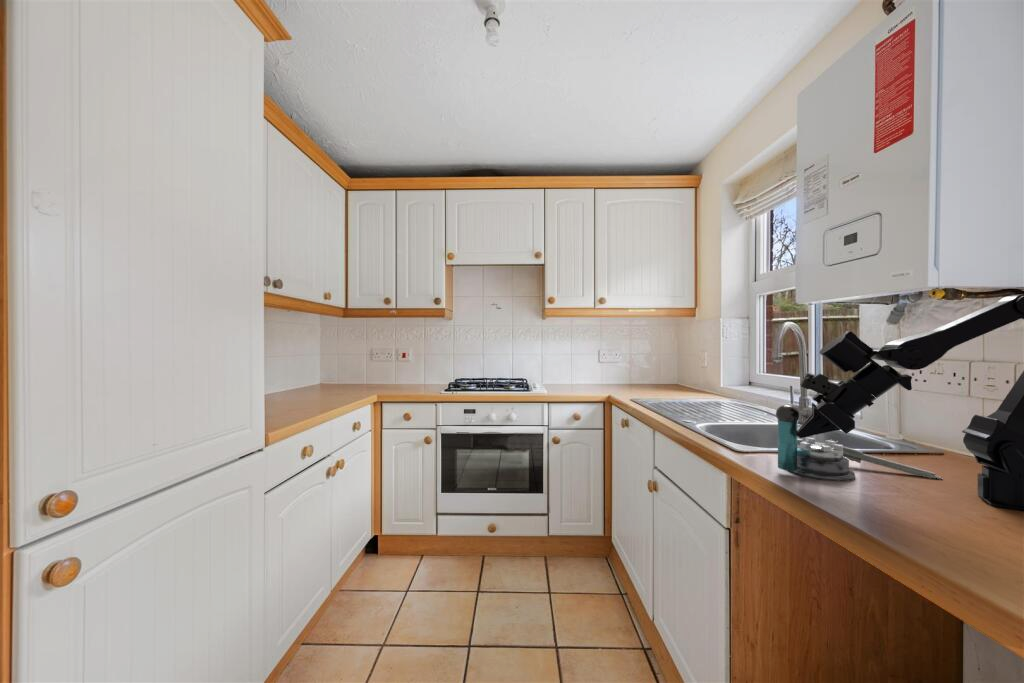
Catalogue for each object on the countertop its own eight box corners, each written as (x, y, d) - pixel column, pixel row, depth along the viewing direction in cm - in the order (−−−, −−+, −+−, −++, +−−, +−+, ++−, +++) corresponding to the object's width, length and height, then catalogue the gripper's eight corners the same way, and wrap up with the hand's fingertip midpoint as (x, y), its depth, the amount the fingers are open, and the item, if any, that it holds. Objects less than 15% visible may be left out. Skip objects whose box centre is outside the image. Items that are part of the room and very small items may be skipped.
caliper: (824, 464, 100) (824, 438, 100) (824, 463, 100) (824, 437, 100) (943, 481, 87) (943, 452, 87) (941, 480, 88) (942, 451, 88)
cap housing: (849, 468, 95) (850, 454, 95) (859, 485, 84) (859, 468, 84) (783, 459, 102) (783, 446, 102) (784, 474, 91) (784, 458, 91)
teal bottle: (853, 469, 90) (853, 405, 90) (798, 475, 86) (799, 408, 86) (813, 458, 99) (813, 399, 98) (762, 463, 94) (762, 402, 94)
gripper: (823, 357, 94) (768, 402, 100) (832, 362, 78) (765, 414, 84) (869, 393, 89) (808, 437, 95) (887, 406, 74) (813, 457, 80)
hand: (797, 435), depth 89 cm, fingers closed
